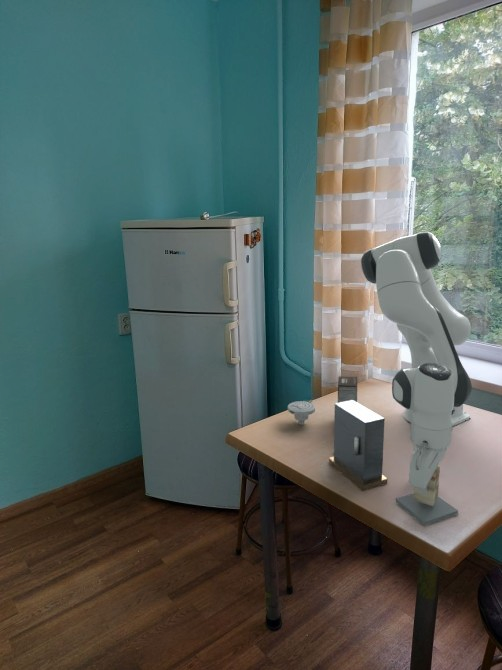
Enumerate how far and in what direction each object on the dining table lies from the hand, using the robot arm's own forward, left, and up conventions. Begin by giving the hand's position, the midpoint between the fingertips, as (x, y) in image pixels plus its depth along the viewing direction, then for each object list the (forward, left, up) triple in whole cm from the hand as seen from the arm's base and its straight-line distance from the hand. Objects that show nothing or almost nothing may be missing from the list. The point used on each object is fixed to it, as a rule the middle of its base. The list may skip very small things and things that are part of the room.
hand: (426, 486), depth 110 cm
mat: (0, 0, -6) cm, 6 cm away
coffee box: (-10, -47, -6) cm, 49 cm away
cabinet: (+5, -20, -6) cm, 22 cm away
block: (0, 0, -3) cm, 3 cm away
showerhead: (+3, -55, -6) cm, 56 cm away
